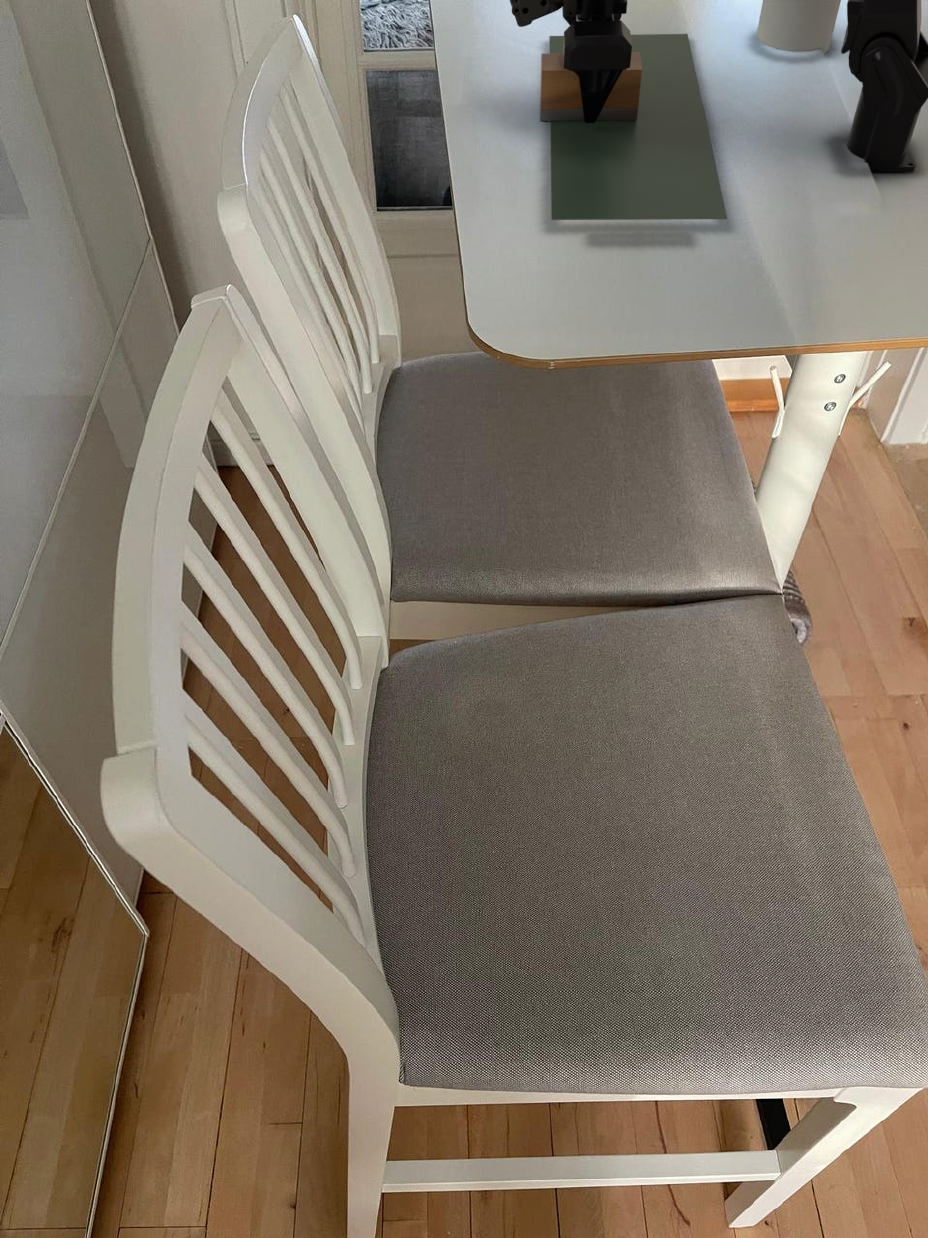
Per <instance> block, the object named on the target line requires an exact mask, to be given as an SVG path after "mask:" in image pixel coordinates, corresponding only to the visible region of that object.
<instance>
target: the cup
mask: <svg viewBox="0 0 928 1238" xmlns="http://www.w3.org/2000/svg"><path fill="white" fill-rule="evenodd" d="M841 2H842V0H762V3H761V9H760V14H759V20H758V24H757V30H756V39H758V41H759V42H761V43H762V44H763V45H764V46H767V47H770V48H772V49H775V50H779V51H785V52H793V53H798V52H799V53H801V52H812V51H816V50H821V52H822V55H825V54H826V53H828V52H829V50H830V48H831V47H830V46H831V43H832V39H833V35H834V30H835V28H836V22H837V18H838V14H839V10H840V5H841Z"/></svg>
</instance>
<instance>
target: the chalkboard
mask: <svg viewBox="0 0 928 1238" xmlns="http://www.w3.org/2000/svg"><path fill="white" fill-rule="evenodd" d="M688 35H689V34H688V33H655V34H654V33H651V34H650V33H649V34H648V33H647V34H631V41H632V52H640V58H641V65H642V76H641V86H640V95H639V105H638V114H637V120H603V121H596V122H595V123H585V121H549V123H550V124H549V125H550V128H549V131H550V207H551V208H550V213H551V214H550V218H551V221H616V220H617V221H618V220H619V221H620V220H621V221H623V220H624V221H626V220H628V221H631V220H632V221H633V220H636V221H637V220H642V221H643V220H645V221H647V220H649V221H650V220H728V216H727V211H726V207H725V203H724V198H723V193H722V189H721V184H720V179H719V175H718V170H717V166H716V161H715V156H714V152H713V147H712V142H711V137H710V133H709V132H710V131H709V128H708V124H707V119H706V114H705V110H704V106H703V100H702V96H701V90H700V86H699V81H698V76H697V72H696V68H695V67H696V66H695V63H694V57H693V53H692V48H691V45H690V39H689V36H688ZM548 37H549V40H548V41H549V53H563V44H564V35H549V36H548Z"/></svg>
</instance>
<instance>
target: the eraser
mask: <svg viewBox="0 0 928 1238" xmlns="http://www.w3.org/2000/svg"><path fill="white" fill-rule="evenodd" d="M540 61H541V62H540V88H539V89H540V95H539V121H540V122H550V121H584V114H583V106H582V99H581V91H580V84H579V77H578V76H577V75H576V74H575V73H574V72H573V71H569V70H567V69H564V66H563V53H550V52H549V53H541V56H540ZM641 76H642V65H641V58H640V52H632V53H631V64H630V68H628V69H626V70H623V71H622V73H621V75H620V76H619V78H618V80H617V82H616V84H615V85H614V87H613V89H612V91H611V93H610V95H609V97H608V99H607V101H606V103H605V105H604V106H603V108H602V110H601V112H600V114H599V116H598V118H597V120H596V121H603V120H637V114H638V105H639V95H640V86H641Z"/></svg>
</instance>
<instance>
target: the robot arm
mask: <svg viewBox="0 0 928 1238" xmlns="http://www.w3.org/2000/svg"><path fill="white" fill-rule="evenodd" d="M509 3H510V6H511V14H512V16H514V18H515V21H516V25H517V26H518V27H520V28H523V27H528V26H529V25H531V24H532V23H533V21H535V20H538V19H540V18H543V17H546V16H548V15H550V14H553V13H555V12H558V11H560V10H561V9H562V13H561V14H562V18H563V19H564V21H565V22H566V23H567V24H568V25H569V26H568V27H567V28H566V29H565V30H564V31H563V36H564V44H563V66H564V69H567V70H569V71H573V72H574V73H575V74H576V75H577V76H578V77H579V84H580V91H581V99H582V106H583V114H584V121H585V123H595V122H596V120H597V118H598V116H599V114H600V112H601V110H602V108H603V106H604V105H605V103H606V101H607V99H608V97H609V95H610V93H611V91H612V89H613V87H614V85H615V84H616V82H617V80H618V78H619V76H620V75H621V73H622V71H623V70H626V69H628V68H630V64H631V53H632V41H631V35H632V34H631V30H630V29H629V28H628V27H627V25H626V24H625V23H624V22H623V21H622V20H621V19H622V15H627V12H628V0H509ZM922 18H923V16H922V0H847V3H846V20H847V25H846V29H845V33H844V38H843V42H842V46H841V51H840V52H841V54H842V55H844V54H846V53H848V52H849V53H848V68H849V71H850V74H851V75H853V76H854V77H855V78H856V79H857V81H858V82H860V83H861V84H862V87H861V90H860V94H859V97H858V101H857V104H856V108H855V112H854V115H853V119H852V123H851V128H850V129H849V133H848V134H849V135H848V138H847V140H846V141H847V142H846V148H847V150H848V151H849V152H850V153H851V154H852V155H854V156H856V157H858V158H860V159H862V160H863V161H864V163H865V164H867V166H868V168H869V171H870V172H873V173H875V172H877V173H878V172H879V173H880V172H914V171H915V170H916V166H917V165H916V164H917V163H916V162H915V159H914V157H913V155H912V153H911V151H910V148H909V147H910V143H911V140H912V137H913V134H914V131H915V128H916V125H917V122H918V120H919V116H920V112H921V109H922V108H923V106H924V105H925V103H926V102H927V100H928V40H927V38H926V37H925V35H924V34H923V32H922V31H921V28H922V27H921V26H922Z"/></svg>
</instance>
